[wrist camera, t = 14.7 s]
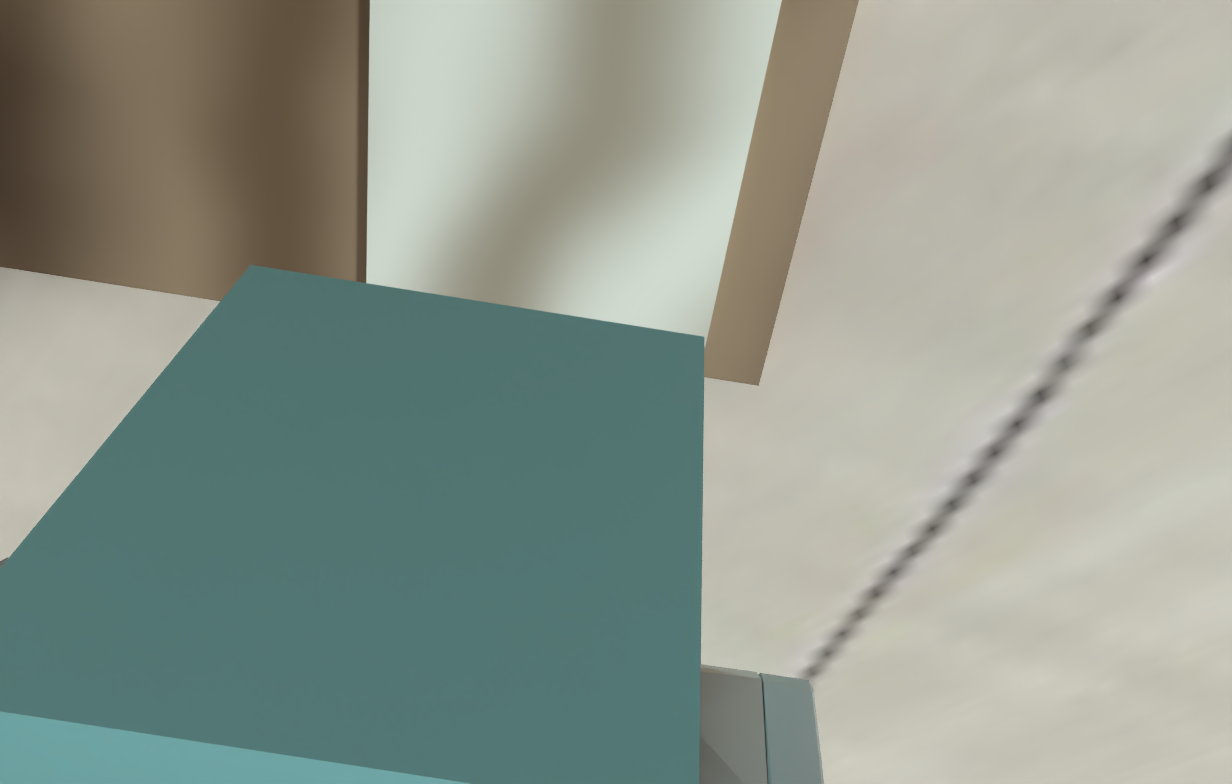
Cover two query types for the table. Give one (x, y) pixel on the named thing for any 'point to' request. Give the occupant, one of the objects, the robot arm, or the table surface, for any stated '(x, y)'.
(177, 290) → the puzzle board
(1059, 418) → the table surface
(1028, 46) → the table surface
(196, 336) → the teal block
